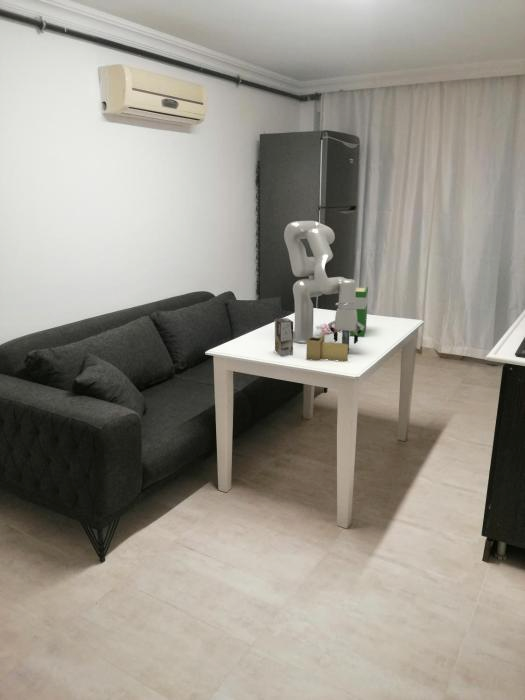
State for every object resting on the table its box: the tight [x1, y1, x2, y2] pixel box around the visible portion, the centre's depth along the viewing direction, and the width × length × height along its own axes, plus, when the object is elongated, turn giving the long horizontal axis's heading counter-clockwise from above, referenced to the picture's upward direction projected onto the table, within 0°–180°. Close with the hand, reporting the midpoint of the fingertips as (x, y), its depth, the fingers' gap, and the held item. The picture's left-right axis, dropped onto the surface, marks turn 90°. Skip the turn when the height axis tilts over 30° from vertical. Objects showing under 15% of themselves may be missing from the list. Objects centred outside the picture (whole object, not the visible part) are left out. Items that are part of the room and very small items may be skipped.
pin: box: [341, 331, 350, 354], centre depth 259 cm, size 3×3×15 cm
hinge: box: [306, 333, 349, 362], centre depth 254 cm, size 18×18×9 cm
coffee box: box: [274, 317, 294, 357], centre depth 258 cm, size 9×6×16 cm
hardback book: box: [349, 286, 369, 338], centre depth 295 cm, size 18×7×24 cm, turn 166°
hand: (345, 342), depth 259 cm, fingers open, 8 cm apart
